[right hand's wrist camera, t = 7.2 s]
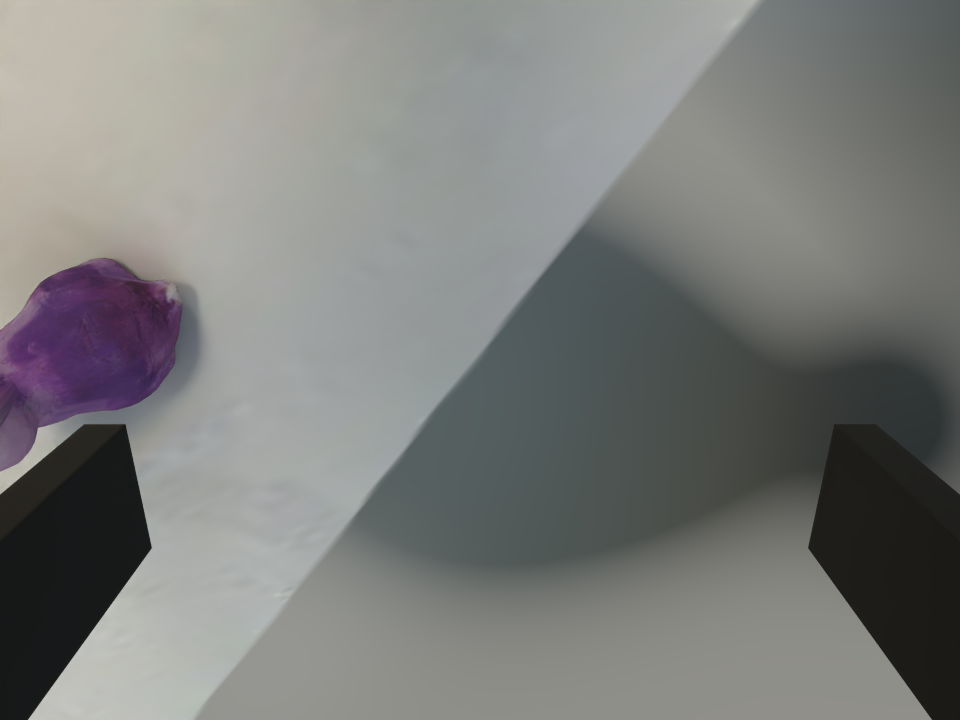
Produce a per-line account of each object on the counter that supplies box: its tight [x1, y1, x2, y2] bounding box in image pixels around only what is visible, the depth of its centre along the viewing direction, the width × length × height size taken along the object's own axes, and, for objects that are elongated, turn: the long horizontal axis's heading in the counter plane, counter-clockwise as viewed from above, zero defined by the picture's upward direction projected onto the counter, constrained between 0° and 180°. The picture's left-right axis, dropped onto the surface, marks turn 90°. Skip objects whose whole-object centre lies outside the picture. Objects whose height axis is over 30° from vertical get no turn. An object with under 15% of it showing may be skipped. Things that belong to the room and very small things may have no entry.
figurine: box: [0, 258, 182, 471], centre depth 34 cm, size 9×10×15 cm
